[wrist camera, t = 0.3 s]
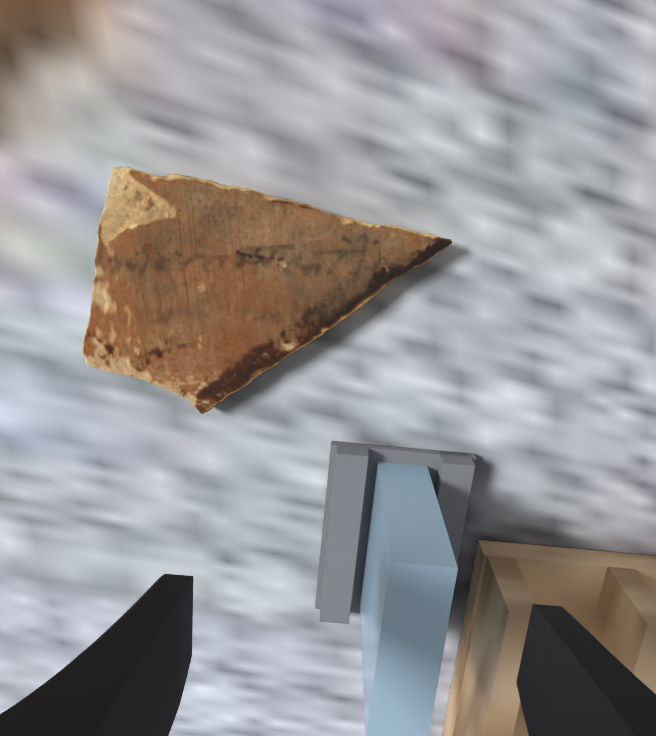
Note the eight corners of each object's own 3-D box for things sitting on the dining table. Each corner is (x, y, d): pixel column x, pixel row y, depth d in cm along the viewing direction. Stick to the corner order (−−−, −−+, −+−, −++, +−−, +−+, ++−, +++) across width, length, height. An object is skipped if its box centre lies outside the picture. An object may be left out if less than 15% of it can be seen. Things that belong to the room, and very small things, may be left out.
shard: (445, 236, 20) (455, 241, 18) (386, 441, 22) (390, 463, 21) (123, 157, 20) (103, 154, 18) (95, 375, 22) (74, 391, 20)
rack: (760, 806, 26) (831, 912, 23) (433, 777, 26) (449, 879, 22) (855, 573, 23) (959, 652, 19) (478, 539, 23) (505, 611, 19)
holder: (446, 615, 24) (450, 633, 23) (315, 603, 24) (314, 620, 23) (474, 453, 22) (480, 466, 21) (331, 441, 22) (331, 452, 21)
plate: (406, 605, 23) (426, 742, 18) (359, 601, 23) (365, 737, 18) (427, 466, 22) (458, 568, 16) (377, 461, 22) (390, 561, 16)
